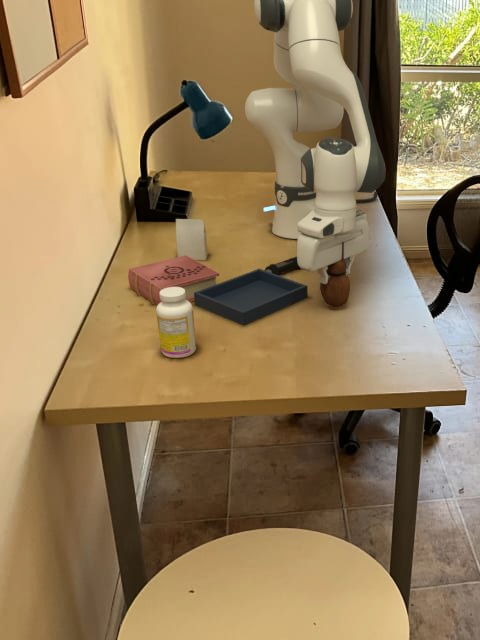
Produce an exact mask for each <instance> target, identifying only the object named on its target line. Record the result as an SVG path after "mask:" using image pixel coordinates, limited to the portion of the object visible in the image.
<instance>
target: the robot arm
mask: <svg viewBox="0 0 480 640" xmlns="http://www.w3.org/2000/svg"><path fill="white" fill-rule="evenodd" d="M253 6H254V7H253V9H254V13H255V17H256V19H257V21H258V24H259V25H260V26H261V28H263V29H264V30H266V31H268V32H269V31H270V32H273V33H274V34H273V66H274V69H275V72H276V73H277V75H278V76H279V77H280V78H281V79H282V80H284V81H285V82H287V83H289V84H291V85H293V86H295V87H289V88H288V87H267V88H261V89H256V90H252V91H251V92H250V94H248V96H247V98H246V99H245V103H244V114H245V118H246V120H247V121H248V123H249V125H250V126H251V127H252V128H253V129H254V130H256V131H257V132H259V133H260V134H261V135H262V136H263V137H264V139H265V140H266V141H267V142H268V144H269V146H270V149H271V151H272V154H273V158H274V159H273V160H274V168H275V181H274V188H273V189H274V195H275V198H274V199H275V200H274V205H271V206H266V207H263V212H270V211H273V210H274V212H273V220H272V222H271V225H272V228H271V232H272V234H274V235H275V236H277V237H281V238H285V239H293V240H294V239H295V240H297V243H296V246H297V247H296V257H297V262H298V265H299V267H300V268H299V269H301V270H303V271H306V272H309V273H313V272H315V271H316V272H317V273H318V275H319V283H320V282H321V283H323V284H327V283H329V282H330V281H331V280H330V279H331V275H328V274H327V272H326V270H327V269H328V265H330V264H333V263H335V262H338V261H340V260H341V259H342V242H344V259H345V261H346V270H345V272H344V273H345V274H346V275H347V276H348V275H350V274H351V267H352V264H353V262H354V260H355V256H356V255H358V254H360V253H362V252H365V251H368V249H369V247H370V245H371V235H370V226H369V222H368V214H367V212H366V211H364V210H363V209H358V210H357V203H358V204H359V203H369V202H373V201H375V200H376V199H377V197H378V195H379V193H378V191H376V190H378V189H379V188H380V187H381V186H382V185H383V184H384V182H385V180H386V174H387V173H386V171H387V170H386V164H385V160H384V157H383V153H382V151H381V148H380V146H379V143H378V140H377V136H376V132H375V129H374V124H373V121H372V118H371V113H370V109H369V107H368V102H367V99H366V95H365V93H364V89H363V86H362V83H361V80H360V78H359V76H358V75H357V74H356V73H355V72H354V71H351V70H350V68H349V67H348V65H347V64H346V61H345V60H344V57H343V55H342V51H341V42H340V36H339V35H340V34H339V32H340V31H345V30H346V29H347V28H348V27H349V26H350V24H351V20H352V16H353V11H354V7H353V6H354V4H353V0H254V1H253ZM344 110H345V111H346V112H347V115H348V119H349V122H350V125H351V129H352V133H353V137H354V141H355V145H353V144H352V143H351V142H350V141H348V140H347V139H343V138H340V137H339V138H338V137H327V138H323V139H321V140H320V141H318V142H317V144H316V147H312V148H310V147H309V146H308V145H306V144H304V143H301V142H299V141H297V140H295V138H294V135H293V134H294V133H297V132H324V131H329V130H334V129H337V128H338V126H340V124H341V123H342V120H343V118H344V113H345V112H344ZM356 193H362V194H363V193H364V194H367V193H368V194H373V197H369V198H362V199H356Z"/></svg>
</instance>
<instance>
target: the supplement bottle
mask: <svg viewBox="0 0 480 640" xmlns="http://www.w3.org/2000/svg"><path fill="white" fill-rule="evenodd" d="M185 298H186V292H185V289H183V288H181V287H168V288H164V289H162V290H161V291H160V299H161V301H162V302H161V303H159V304H158V306H157V305H156V309H155V313H156V321H157V328H158V329H157V330H158V335H159V336H158V338H159V342H160V343H159V344H160V350H161V353H162V355H163V356H165V357H167V358H169V359H184V358H186V357H189V356H191V355H193V354H195V352H196V351H197V339H196V329H195V328H196V327H195V320H194V319H195V318H194V309H193V305H192V302H189V301H187V300H185Z"/></svg>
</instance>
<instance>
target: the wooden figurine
mask: <svg viewBox="0 0 480 640" xmlns="http://www.w3.org/2000/svg"><path fill="white" fill-rule="evenodd" d="M345 270H346V261H345V259H344V242H342V259H341V260H340V261H338V262H335V263H333V264H330V265H328V269H327V270H326V272H327V274H328V275H331V279H330V280H331V281H330V282H329V283H327V284H323V283H321V282H320V281H319V291H320V295H321V298H322V300H323V301H324V303H325V304H326V305H328V306H330V307H334V308H339V307H343V306H345V304H346V303H347V302H348V299H349V298H350V292H351V280H350V277H349V276H348V275H346V274H345V273H344V272H345Z"/></svg>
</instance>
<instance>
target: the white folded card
mask: <svg viewBox="0 0 480 640" xmlns="http://www.w3.org/2000/svg"><path fill="white" fill-rule="evenodd" d="M175 240H176V249H177V257H180V256H184V255H187V256H189V257H191V258H193V259H194V260H196V261H206V260H207V258H208V255H209V251H208V239H207V230H206V225H205V219H203V218H202V219H198V218H195V219H194V218H189V219H188V218H175Z"/></svg>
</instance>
